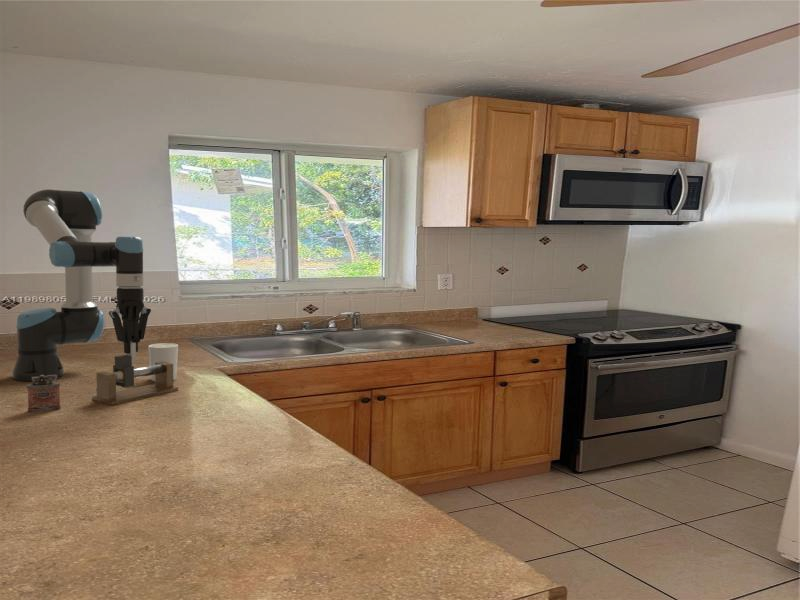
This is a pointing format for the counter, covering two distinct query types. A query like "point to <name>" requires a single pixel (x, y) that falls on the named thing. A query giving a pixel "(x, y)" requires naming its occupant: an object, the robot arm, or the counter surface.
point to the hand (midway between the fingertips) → (131, 363)
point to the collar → (124, 370)
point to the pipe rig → (161, 386)
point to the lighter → (43, 394)
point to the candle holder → (164, 355)
